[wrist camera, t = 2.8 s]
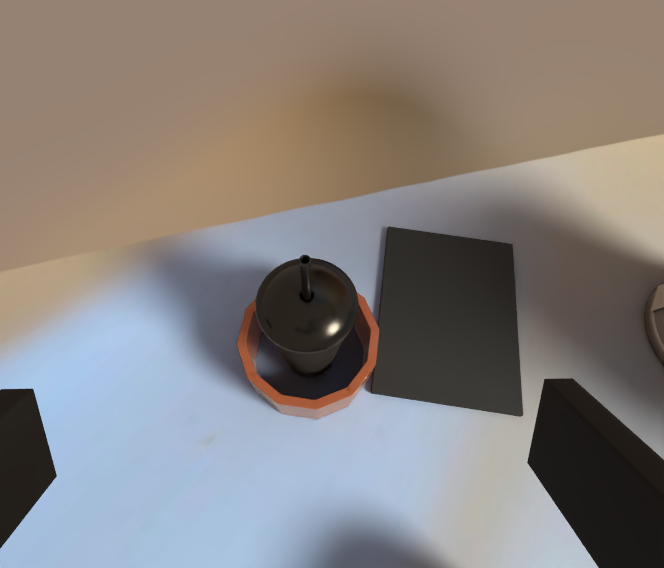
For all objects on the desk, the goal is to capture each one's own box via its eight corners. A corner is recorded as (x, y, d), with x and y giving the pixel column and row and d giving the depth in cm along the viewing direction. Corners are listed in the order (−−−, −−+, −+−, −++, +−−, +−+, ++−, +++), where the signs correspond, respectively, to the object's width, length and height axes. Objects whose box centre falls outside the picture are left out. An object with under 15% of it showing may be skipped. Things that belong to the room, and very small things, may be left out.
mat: (510, 246, 49) (512, 243, 48) (520, 416, 40) (523, 415, 39) (387, 229, 49) (388, 226, 49) (370, 393, 40) (371, 392, 40)
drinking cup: (306, 306, 44) (299, 188, 26) (361, 350, 42) (393, 254, 24) (257, 358, 42) (213, 265, 24) (313, 407, 40) (311, 346, 22)
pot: (375, 308, 45) (383, 284, 39) (363, 426, 39) (370, 418, 34) (264, 291, 45) (256, 266, 40) (235, 406, 39) (223, 395, 34)
